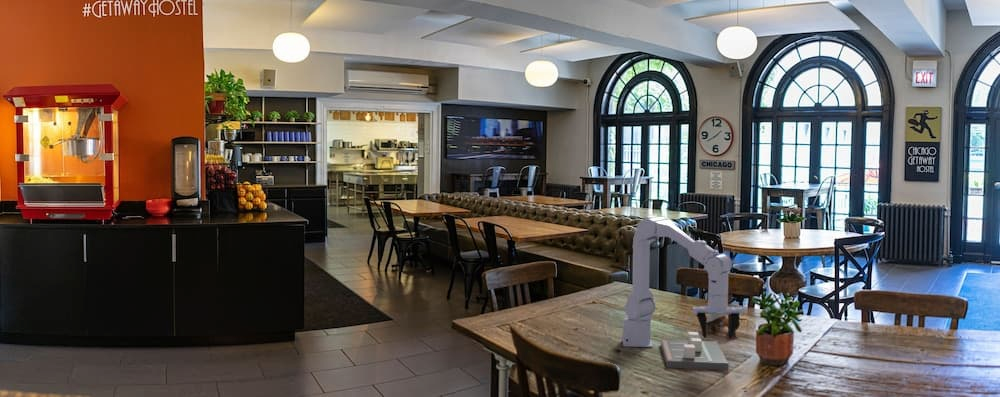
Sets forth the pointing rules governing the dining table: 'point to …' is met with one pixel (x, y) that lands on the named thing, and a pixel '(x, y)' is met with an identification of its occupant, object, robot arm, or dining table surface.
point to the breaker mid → (697, 344)
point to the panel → (703, 360)
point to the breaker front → (689, 351)
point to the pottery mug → (716, 323)
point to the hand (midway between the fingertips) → (717, 337)
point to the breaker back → (692, 336)
